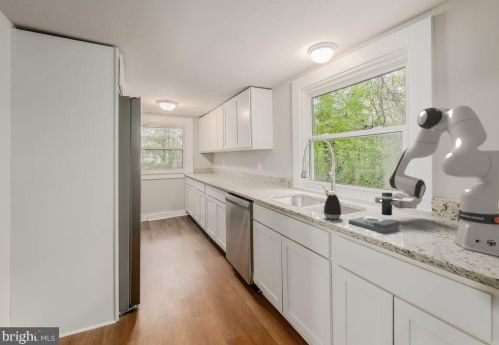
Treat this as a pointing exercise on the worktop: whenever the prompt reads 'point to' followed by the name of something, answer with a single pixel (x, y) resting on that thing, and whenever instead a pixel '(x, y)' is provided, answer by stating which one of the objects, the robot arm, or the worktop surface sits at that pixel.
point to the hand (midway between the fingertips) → (385, 202)
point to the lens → (386, 203)
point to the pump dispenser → (332, 207)
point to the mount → (375, 224)
